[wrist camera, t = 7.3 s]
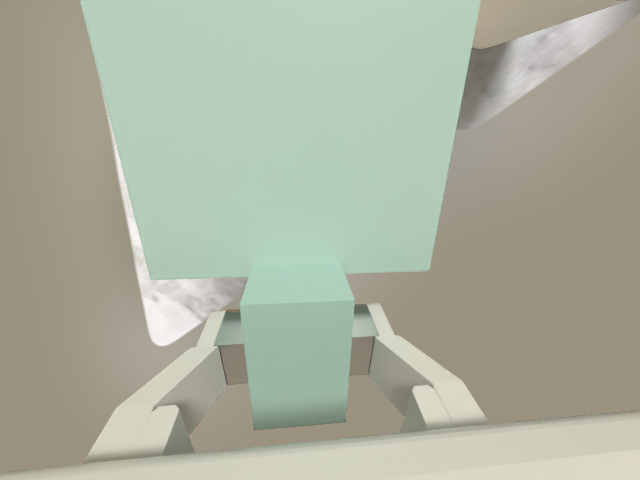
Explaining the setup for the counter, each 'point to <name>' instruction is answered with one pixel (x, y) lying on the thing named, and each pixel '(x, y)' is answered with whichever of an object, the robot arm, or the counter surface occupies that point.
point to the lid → (285, 160)
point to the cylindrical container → (527, 17)
